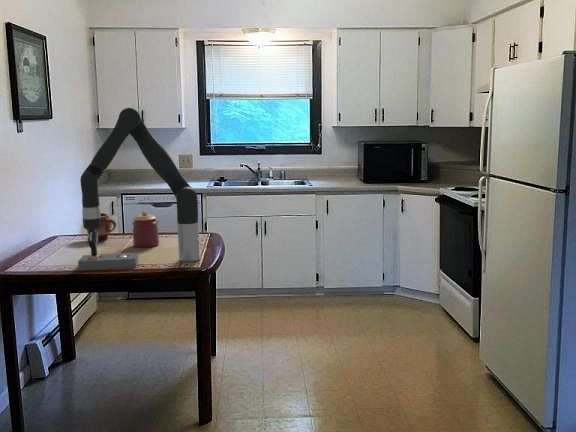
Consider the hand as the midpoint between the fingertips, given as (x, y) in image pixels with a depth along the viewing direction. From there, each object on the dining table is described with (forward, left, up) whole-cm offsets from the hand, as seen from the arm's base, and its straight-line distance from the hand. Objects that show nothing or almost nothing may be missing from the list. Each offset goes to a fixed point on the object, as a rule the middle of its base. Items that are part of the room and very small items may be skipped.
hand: (94, 255), depth 271 cm
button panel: (-6, 0, -5) cm, 8 cm away
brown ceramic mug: (+6, -58, -5) cm, 59 cm away
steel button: (-12, 0, -4) cm, 13 cm away
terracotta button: (0, 0, -3) cm, 3 cm away
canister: (-19, -40, -5) cm, 45 cm away
